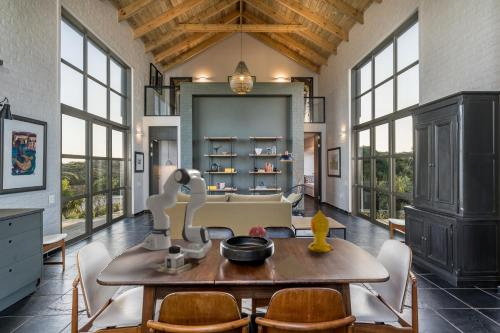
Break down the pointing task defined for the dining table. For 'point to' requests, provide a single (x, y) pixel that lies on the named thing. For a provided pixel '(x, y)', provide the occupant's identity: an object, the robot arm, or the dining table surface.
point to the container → (174, 258)
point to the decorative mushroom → (257, 231)
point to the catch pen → (173, 271)
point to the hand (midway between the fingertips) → (179, 255)
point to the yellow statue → (319, 233)
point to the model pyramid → (291, 268)
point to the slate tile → (152, 266)
